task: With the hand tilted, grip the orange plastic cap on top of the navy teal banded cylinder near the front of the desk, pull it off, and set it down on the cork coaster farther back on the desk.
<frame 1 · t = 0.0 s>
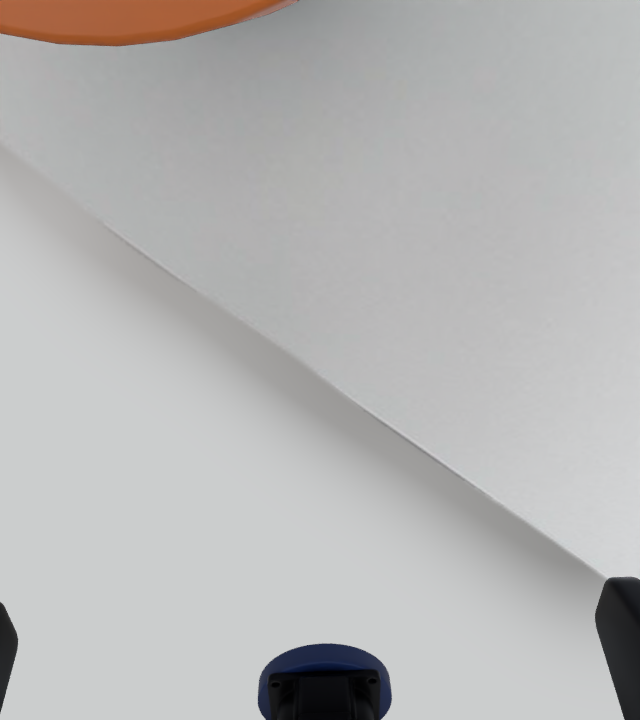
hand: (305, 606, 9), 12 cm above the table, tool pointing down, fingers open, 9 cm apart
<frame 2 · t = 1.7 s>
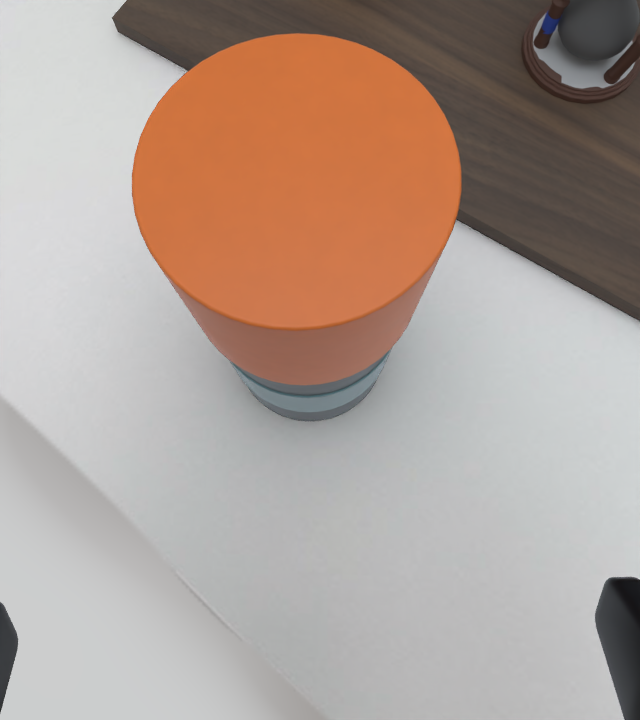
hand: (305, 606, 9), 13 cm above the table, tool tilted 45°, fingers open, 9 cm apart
cap: (304, 272, 16), point 8 cm above the table, touching navy teal banded cylinder
hourglass set: (636, 137, 26), on the table
navy teal banded cylinder: (310, 348, 24), on the table
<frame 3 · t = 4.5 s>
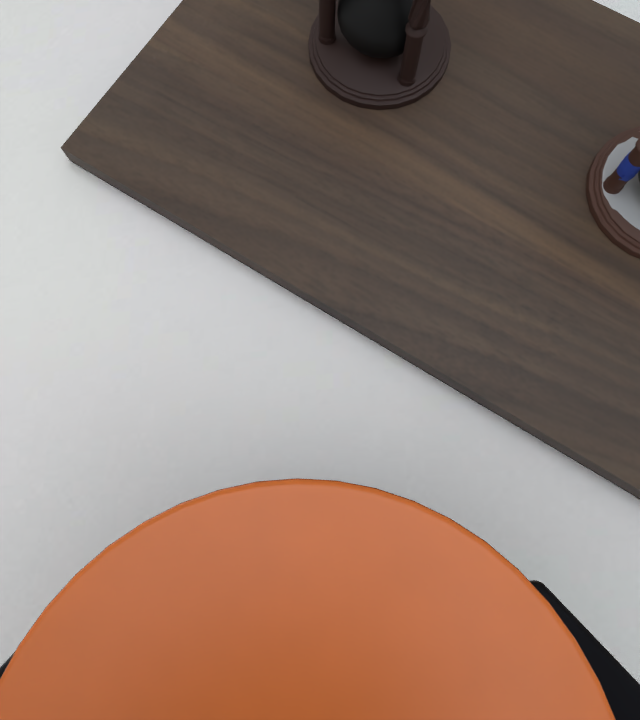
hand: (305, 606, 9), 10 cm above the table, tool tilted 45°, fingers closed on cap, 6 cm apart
cap: (309, 678, 10), point 8 cm above the table, touching gripper, navy teal banded cylinder
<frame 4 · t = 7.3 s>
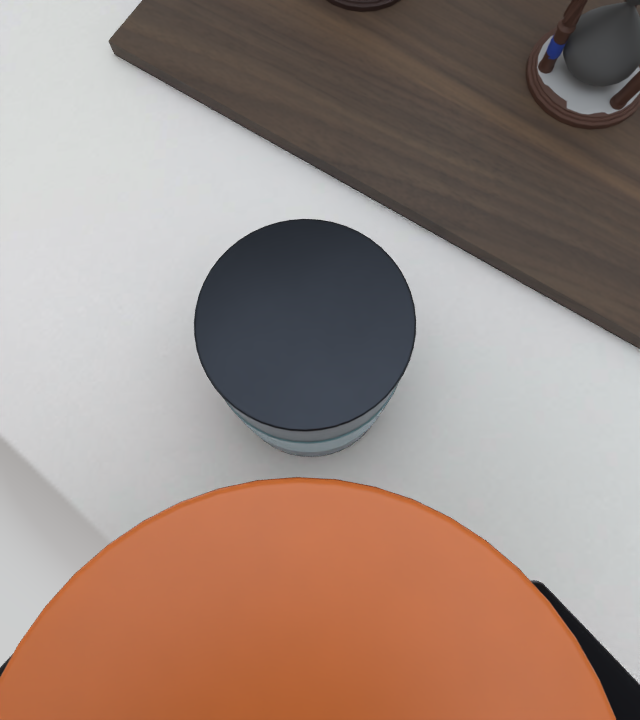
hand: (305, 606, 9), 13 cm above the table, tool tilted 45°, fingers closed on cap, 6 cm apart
cap: (309, 678, 10), point 12 cm above the table, touching gripper
navy teal banded cylinder: (310, 381, 23), on the table
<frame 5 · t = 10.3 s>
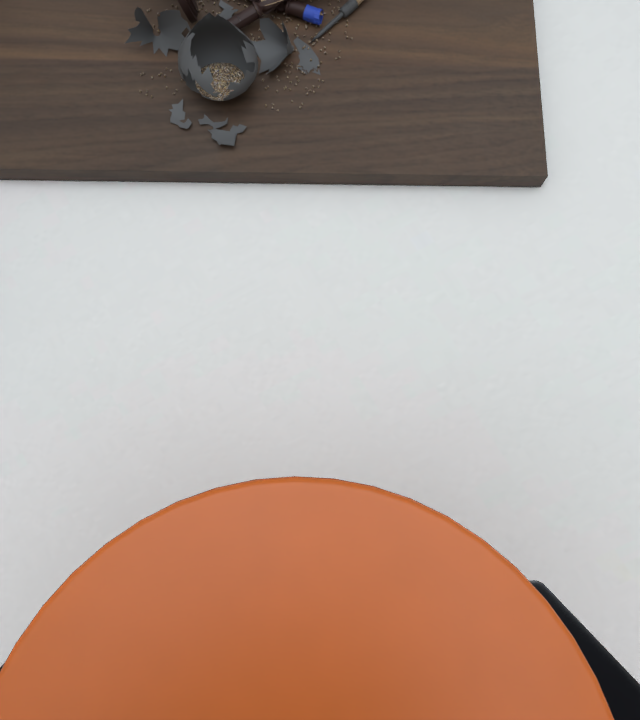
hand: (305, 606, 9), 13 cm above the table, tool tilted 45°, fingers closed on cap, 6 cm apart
cap: (307, 677, 10), point 11 cm above the table, touching gripper
hourglass set: (23, 27, 27), on the table
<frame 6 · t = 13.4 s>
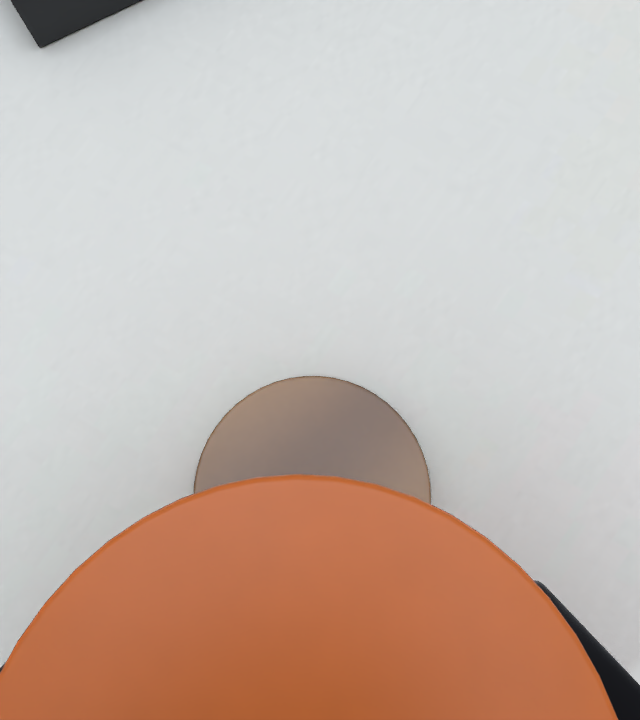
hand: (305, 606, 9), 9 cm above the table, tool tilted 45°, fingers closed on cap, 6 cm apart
coaster: (312, 492, 18), on the table
cap: (309, 676, 10), point 7 cm above the table, touching gripper
when the fingers open (3 cm above the table, at t = 16.1 s): cap stays where it is, resting on coaster.
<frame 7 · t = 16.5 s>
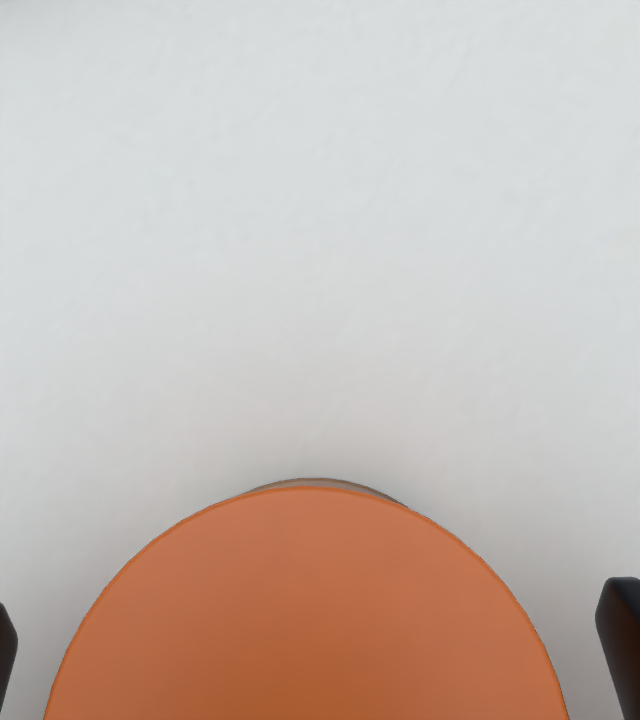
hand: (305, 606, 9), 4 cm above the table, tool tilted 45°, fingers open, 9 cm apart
coaster: (313, 653, 12), on the table
cap: (312, 657, 12), point 1 cm above the table, touching coaster
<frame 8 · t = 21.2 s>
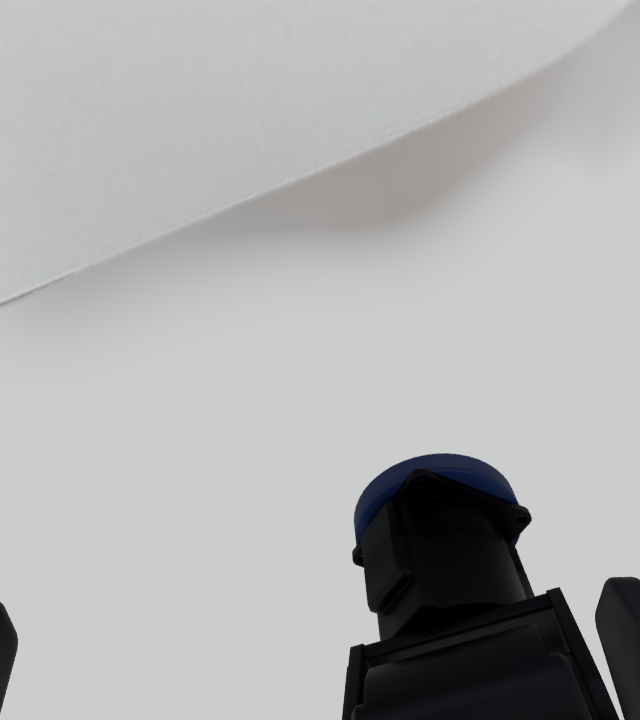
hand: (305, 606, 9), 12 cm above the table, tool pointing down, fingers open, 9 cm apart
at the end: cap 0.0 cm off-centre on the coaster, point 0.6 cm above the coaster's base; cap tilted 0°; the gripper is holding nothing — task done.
